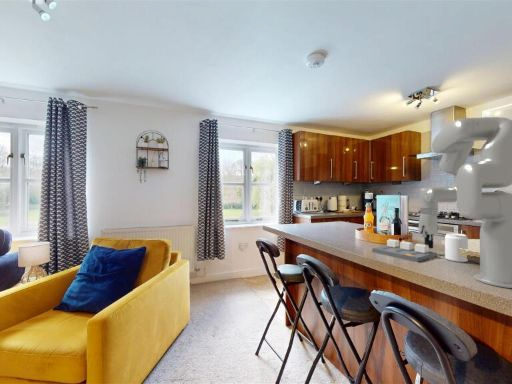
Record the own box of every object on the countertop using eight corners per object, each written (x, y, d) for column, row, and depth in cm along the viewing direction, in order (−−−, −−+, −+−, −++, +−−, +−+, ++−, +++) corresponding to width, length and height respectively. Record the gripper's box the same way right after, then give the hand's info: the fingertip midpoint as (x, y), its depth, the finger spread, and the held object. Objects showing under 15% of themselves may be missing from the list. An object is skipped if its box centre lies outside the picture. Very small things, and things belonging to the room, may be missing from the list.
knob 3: (428, 251, 118) (428, 244, 118) (424, 253, 116) (424, 245, 116) (418, 250, 122) (418, 243, 122) (414, 251, 120) (414, 243, 120)
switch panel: (436, 256, 118) (436, 251, 118) (417, 262, 109) (417, 257, 109) (391, 247, 137) (391, 243, 137) (372, 252, 128) (372, 247, 128)
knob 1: (399, 246, 130) (399, 239, 130) (395, 247, 128) (395, 240, 128) (391, 245, 134) (391, 238, 134) (387, 245, 132) (387, 239, 132)
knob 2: (413, 249, 124) (413, 242, 124) (409, 250, 122) (409, 243, 122) (404, 247, 128) (404, 240, 128) (400, 248, 126) (400, 241, 126)
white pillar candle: (459, 263, 106) (459, 236, 106) (440, 258, 114) (440, 233, 114) (472, 262, 109) (472, 235, 109) (453, 257, 116) (453, 232, 116)
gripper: (427, 210, 130) (427, 244, 130) (413, 212, 122) (413, 248, 122) (444, 211, 123) (444, 247, 123) (429, 213, 116) (430, 251, 116)
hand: (428, 247), depth 123 cm, fingers closed
